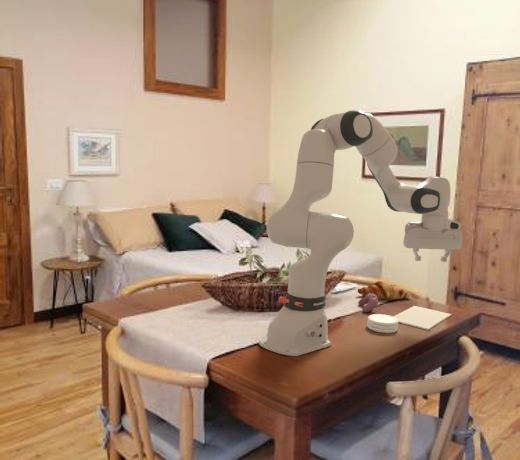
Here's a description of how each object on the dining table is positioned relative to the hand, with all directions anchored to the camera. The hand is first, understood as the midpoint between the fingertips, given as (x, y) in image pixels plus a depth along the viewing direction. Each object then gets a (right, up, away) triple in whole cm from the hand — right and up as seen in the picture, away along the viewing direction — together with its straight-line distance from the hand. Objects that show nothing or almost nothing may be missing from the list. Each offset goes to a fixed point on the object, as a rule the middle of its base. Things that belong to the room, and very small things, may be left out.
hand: (430, 261), depth 183 cm
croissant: (-11, -16, +24) cm, 31 cm away
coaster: (-20, -22, -13) cm, 32 cm away
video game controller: (-21, -18, +7) cm, 29 cm away
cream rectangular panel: (-4, -20, -1) cm, 20 cm away
